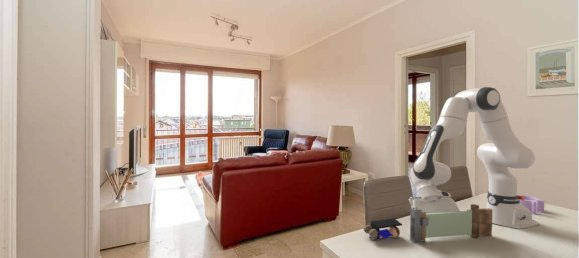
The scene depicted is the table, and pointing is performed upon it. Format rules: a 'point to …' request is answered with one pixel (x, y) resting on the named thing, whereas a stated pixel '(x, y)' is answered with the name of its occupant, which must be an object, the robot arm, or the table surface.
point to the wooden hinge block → (481, 222)
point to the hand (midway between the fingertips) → (441, 225)
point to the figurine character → (385, 233)
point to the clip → (533, 204)
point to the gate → (447, 224)
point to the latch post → (416, 224)
